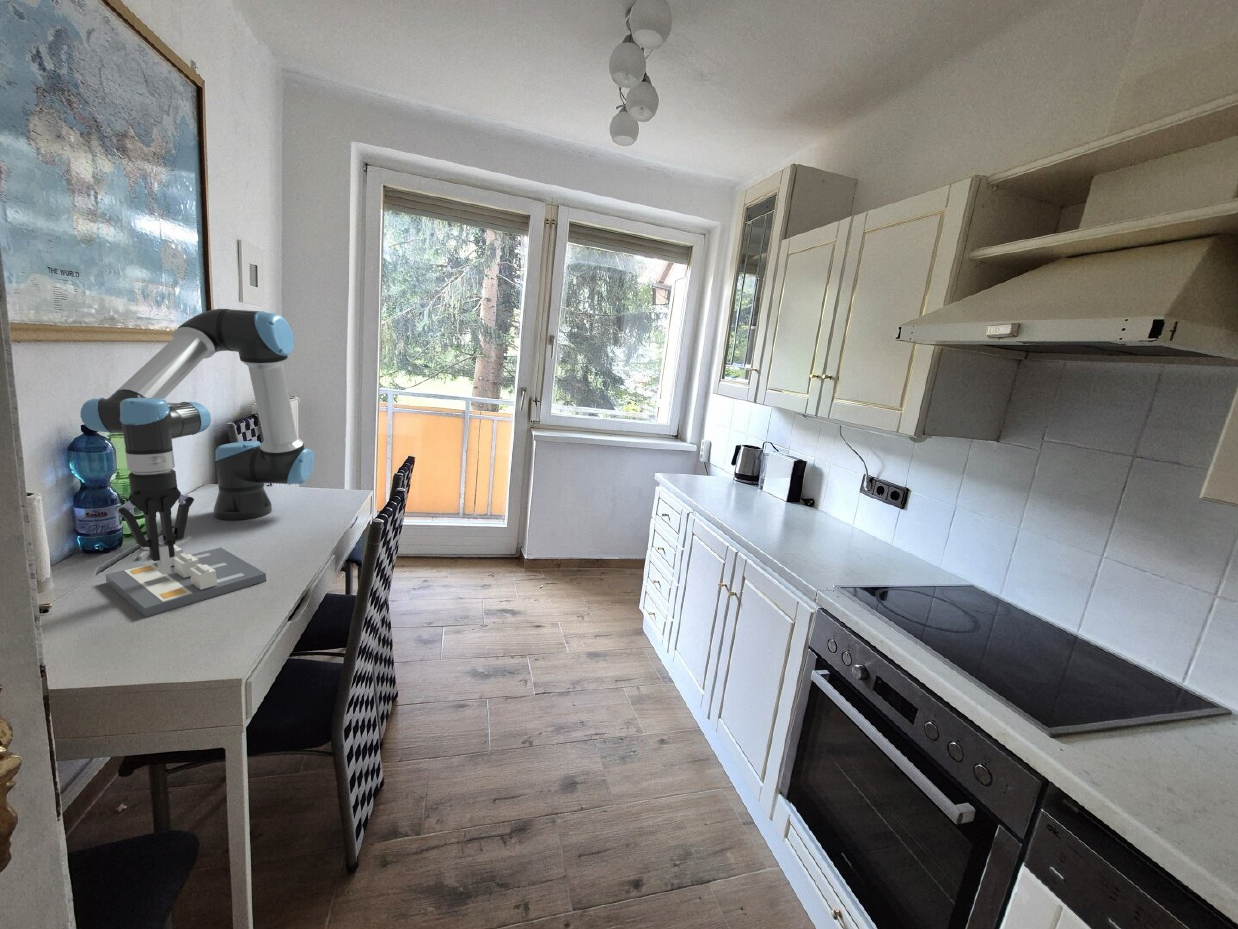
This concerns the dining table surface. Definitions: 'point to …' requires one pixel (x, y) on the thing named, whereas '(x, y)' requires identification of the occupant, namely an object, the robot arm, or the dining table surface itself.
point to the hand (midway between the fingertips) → (164, 572)
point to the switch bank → (182, 582)
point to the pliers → (147, 550)
